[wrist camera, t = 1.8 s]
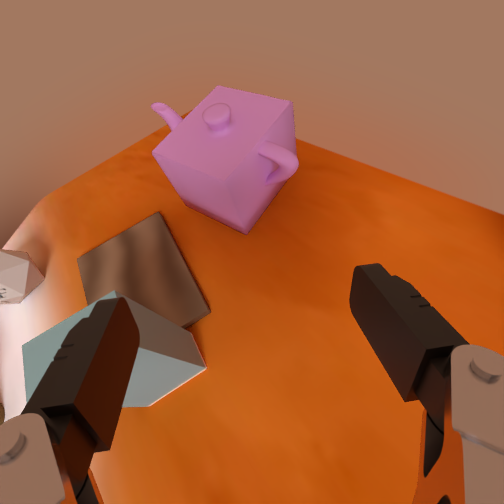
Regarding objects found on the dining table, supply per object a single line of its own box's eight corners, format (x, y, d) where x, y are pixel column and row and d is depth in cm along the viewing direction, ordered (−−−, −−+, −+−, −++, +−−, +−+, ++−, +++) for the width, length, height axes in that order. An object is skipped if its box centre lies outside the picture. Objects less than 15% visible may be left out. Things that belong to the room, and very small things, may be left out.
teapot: (208, 137, 54) (178, 61, 42) (324, 175, 44) (327, 90, 32) (158, 192, 50) (107, 124, 38) (274, 249, 39) (256, 181, 27)
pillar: (191, 333, 36) (114, 290, 22) (207, 368, 33) (131, 345, 19) (137, 367, 35) (21, 345, 21) (149, 406, 32) (27, 410, 19)
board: (161, 215, 46) (158, 211, 45) (211, 312, 36) (208, 309, 35) (82, 262, 45) (76, 258, 44) (110, 375, 35) (104, 374, 34)
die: (-3, 309, 45) (-45, 316, 36) (-15, 258, 45) (-60, 252, 36) (54, 295, 48) (29, 298, 38) (43, 247, 48) (15, 239, 39)
